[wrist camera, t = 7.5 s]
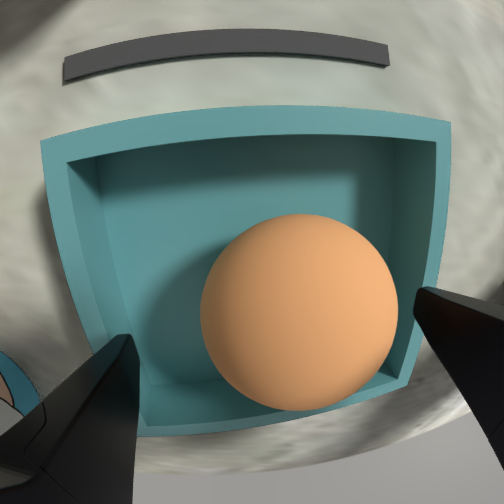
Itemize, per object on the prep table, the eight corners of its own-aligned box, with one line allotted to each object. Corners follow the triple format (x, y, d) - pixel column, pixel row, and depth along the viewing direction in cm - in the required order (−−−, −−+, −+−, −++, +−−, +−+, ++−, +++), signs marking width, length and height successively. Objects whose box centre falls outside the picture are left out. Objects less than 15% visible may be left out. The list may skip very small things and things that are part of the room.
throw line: (384, 45, 10) (387, 44, 10) (387, 66, 10) (390, 65, 10) (66, 58, 8) (64, 57, 8) (66, 81, 8) (64, 80, 8)
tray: (400, 121, 11) (450, 121, 8) (378, 349, 15) (406, 385, 12) (79, 139, 9) (40, 140, 6) (141, 388, 14) (135, 436, 11)
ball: (364, 321, 13) (460, 268, 7) (287, 435, 10) (372, 465, 5) (261, 236, 14) (306, 138, 8) (165, 337, 11) (141, 284, 6)
